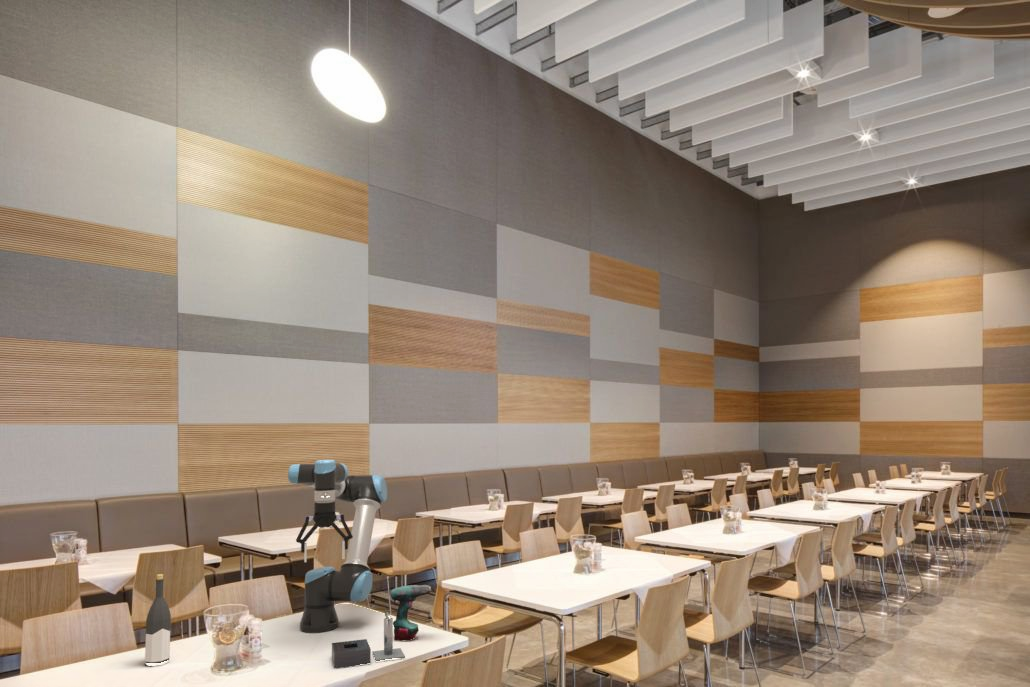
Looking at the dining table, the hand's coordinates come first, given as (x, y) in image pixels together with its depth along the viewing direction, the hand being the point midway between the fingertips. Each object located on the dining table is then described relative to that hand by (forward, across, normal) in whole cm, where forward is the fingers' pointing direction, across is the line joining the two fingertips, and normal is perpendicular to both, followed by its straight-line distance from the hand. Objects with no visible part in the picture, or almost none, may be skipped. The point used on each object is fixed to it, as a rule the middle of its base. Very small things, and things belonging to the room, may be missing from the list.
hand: (324, 560), depth 264 cm
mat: (+32, +21, -17) cm, 42 cm away
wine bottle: (+32, -56, +7) cm, 65 cm away
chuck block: (+32, +8, -17) cm, 37 cm away
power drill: (+32, +32, 0) cm, 45 cm away
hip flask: (+31, +21, -17) cm, 41 cm away
